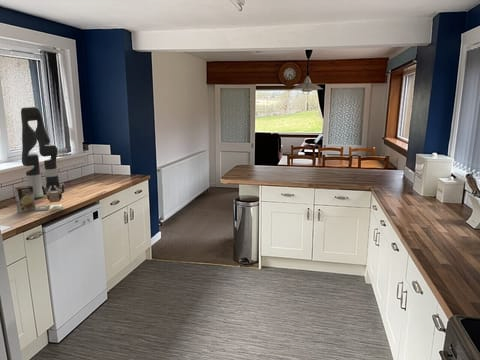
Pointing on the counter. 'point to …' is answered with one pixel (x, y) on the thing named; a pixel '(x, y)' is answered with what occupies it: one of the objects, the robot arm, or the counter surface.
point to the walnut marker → (54, 197)
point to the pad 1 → (42, 208)
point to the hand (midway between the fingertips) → (55, 199)
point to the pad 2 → (56, 207)
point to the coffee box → (25, 199)
